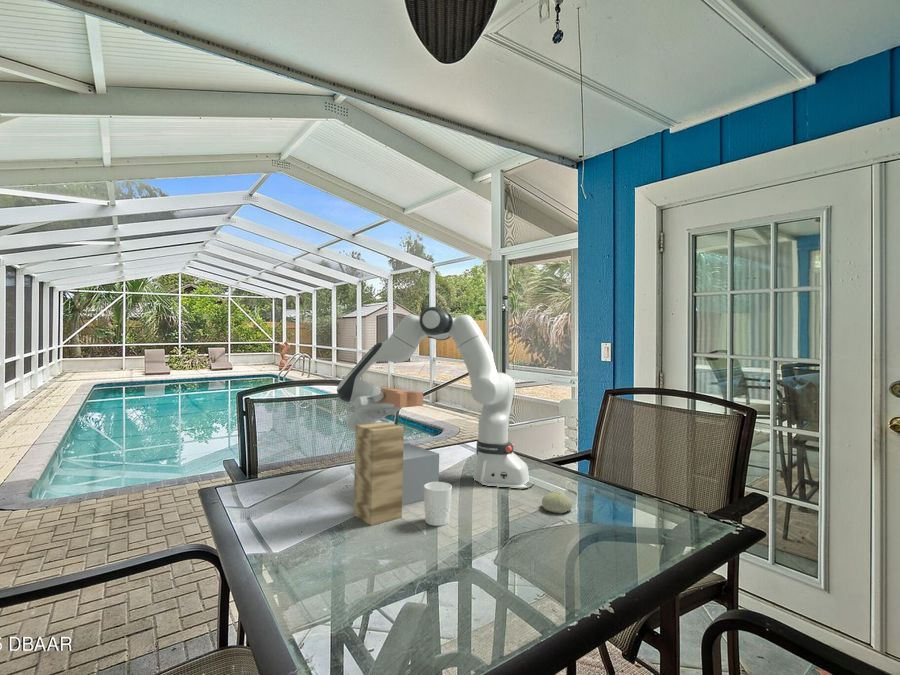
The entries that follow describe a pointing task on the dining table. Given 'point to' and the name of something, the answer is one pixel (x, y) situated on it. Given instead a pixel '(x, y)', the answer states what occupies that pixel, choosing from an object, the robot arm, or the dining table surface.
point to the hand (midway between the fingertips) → (390, 393)
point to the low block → (418, 472)
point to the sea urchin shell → (557, 502)
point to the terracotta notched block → (402, 397)
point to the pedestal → (378, 472)
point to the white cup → (437, 503)
